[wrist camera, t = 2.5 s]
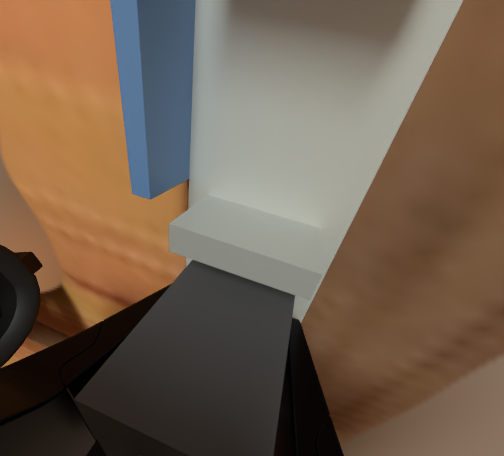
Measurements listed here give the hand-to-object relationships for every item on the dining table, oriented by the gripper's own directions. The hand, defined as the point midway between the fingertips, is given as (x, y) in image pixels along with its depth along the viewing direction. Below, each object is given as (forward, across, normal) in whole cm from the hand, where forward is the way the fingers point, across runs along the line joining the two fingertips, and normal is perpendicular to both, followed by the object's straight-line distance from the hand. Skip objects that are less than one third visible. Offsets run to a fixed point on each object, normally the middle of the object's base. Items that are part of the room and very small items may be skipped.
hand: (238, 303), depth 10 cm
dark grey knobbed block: (+1, 0, 0) cm, 1 cm away
